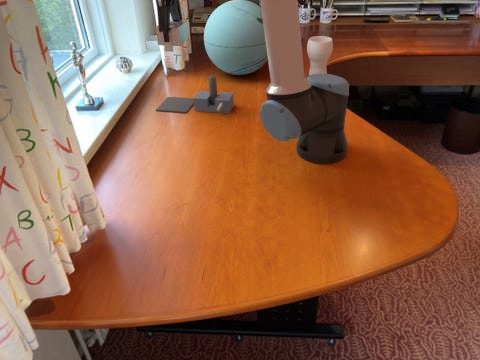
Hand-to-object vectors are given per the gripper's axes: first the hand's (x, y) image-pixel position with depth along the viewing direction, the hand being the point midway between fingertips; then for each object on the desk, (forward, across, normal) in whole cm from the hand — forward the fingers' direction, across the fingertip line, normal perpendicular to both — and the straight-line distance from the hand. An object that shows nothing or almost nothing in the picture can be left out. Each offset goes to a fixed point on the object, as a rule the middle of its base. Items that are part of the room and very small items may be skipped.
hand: (174, 47), depth 140 cm
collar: (-2, 0, 0) cm, 2 cm away
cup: (+22, +40, -48) cm, 66 cm away
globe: (+22, +37, -14) cm, 46 cm away
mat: (+22, 0, +2) cm, 22 cm away
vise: (+22, -3, -13) cm, 26 cm away
